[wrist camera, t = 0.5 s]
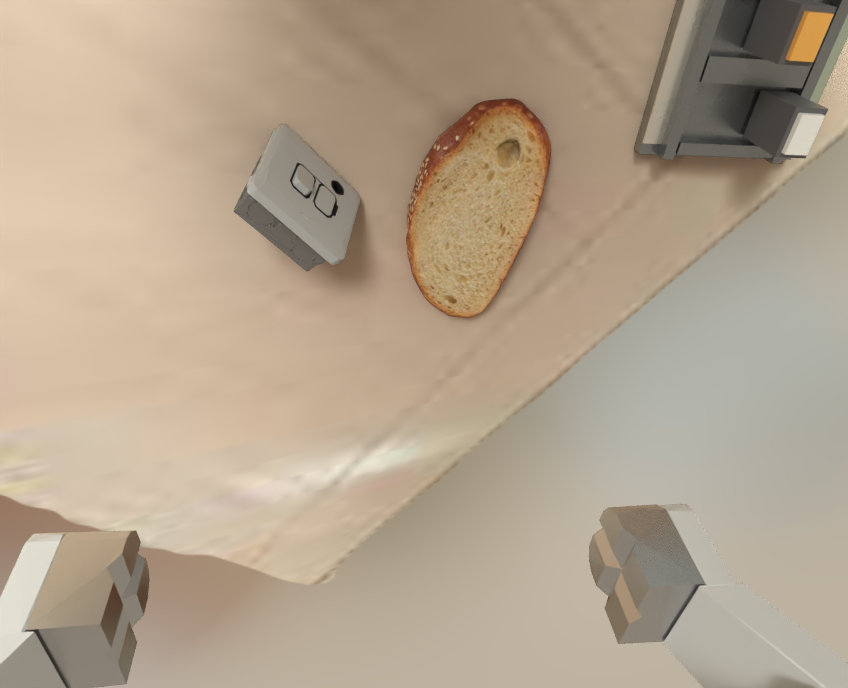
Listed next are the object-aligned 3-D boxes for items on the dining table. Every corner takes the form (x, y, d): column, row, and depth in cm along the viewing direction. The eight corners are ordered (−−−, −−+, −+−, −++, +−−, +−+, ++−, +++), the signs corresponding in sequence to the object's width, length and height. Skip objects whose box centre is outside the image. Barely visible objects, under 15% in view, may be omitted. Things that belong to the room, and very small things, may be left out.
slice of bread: (450, 323, 66) (456, 345, 63) (343, 198, 56) (344, 216, 53) (600, 230, 61) (614, 248, 58) (513, 74, 51) (525, 87, 48)
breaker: (761, 89, 52) (800, 109, 48) (790, 91, 53) (832, 110, 48) (742, 136, 55) (778, 159, 50) (771, 137, 55) (808, 160, 51)
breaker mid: (763, -7, 48) (806, 5, 43) (795, -4, 48) (841, 8, 44) (742, 49, 50) (781, 66, 46) (773, 51, 50) (815, 68, 46)
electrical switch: (362, 195, 55) (359, 251, 48) (322, 229, 57) (314, 287, 50) (282, 117, 50) (266, 167, 43) (242, 157, 53) (220, 211, 46)
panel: (724, -165, 43) (742, -167, 41) (913, -142, 45) (939, -143, 43) (633, 148, 56) (644, 158, 54) (783, 154, 58) (798, 164, 56)
